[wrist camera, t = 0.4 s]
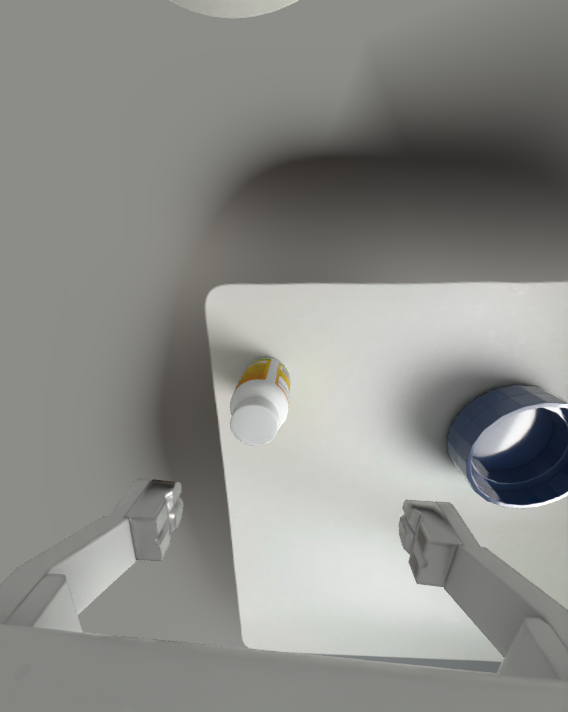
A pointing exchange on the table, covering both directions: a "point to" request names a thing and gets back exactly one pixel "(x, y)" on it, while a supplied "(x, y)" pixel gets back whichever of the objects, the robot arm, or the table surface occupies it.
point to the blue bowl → (513, 446)
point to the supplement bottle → (260, 401)
